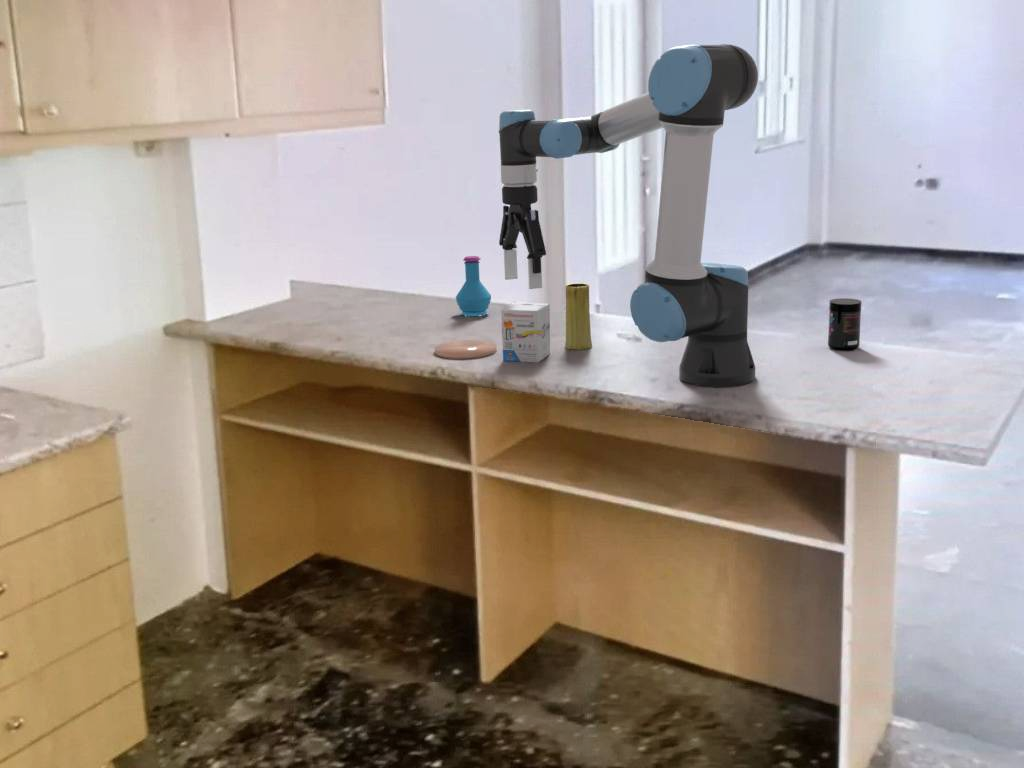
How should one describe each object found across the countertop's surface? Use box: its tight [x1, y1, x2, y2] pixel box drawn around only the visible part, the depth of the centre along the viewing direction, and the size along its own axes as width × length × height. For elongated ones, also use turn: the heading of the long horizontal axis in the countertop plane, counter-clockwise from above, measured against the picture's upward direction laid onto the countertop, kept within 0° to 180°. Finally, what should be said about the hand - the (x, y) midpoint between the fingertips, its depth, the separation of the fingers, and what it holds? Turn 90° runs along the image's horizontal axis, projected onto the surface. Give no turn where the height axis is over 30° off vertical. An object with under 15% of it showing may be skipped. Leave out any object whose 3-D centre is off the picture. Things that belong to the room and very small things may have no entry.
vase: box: [564, 282, 593, 351], centre depth 262 cm, size 6×6×14 cm
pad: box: [434, 339, 498, 360], centre depth 263 cm, size 14×14×1 cm
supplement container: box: [827, 298, 863, 352], centre depth 253 cm, size 7×7×10 cm
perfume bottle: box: [455, 255, 492, 317], centre depth 301 cm, size 9×9×15 cm
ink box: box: [500, 301, 551, 363], centre depth 254 cm, size 9×8×12 cm
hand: (523, 283), depth 251 cm, fingers open, 13 cm apart
